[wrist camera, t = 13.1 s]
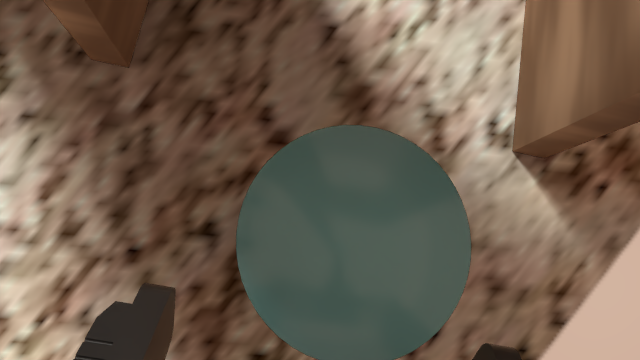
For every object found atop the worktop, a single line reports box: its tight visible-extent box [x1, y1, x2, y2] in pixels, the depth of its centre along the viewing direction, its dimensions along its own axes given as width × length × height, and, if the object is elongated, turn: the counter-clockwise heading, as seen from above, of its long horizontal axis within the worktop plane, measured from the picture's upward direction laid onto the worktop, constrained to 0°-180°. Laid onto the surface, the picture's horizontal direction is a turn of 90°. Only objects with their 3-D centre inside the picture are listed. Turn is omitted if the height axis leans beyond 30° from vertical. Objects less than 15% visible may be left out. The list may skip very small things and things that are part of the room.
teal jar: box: [236, 125, 471, 360], centre depth 17 cm, size 5×5×14 cm
